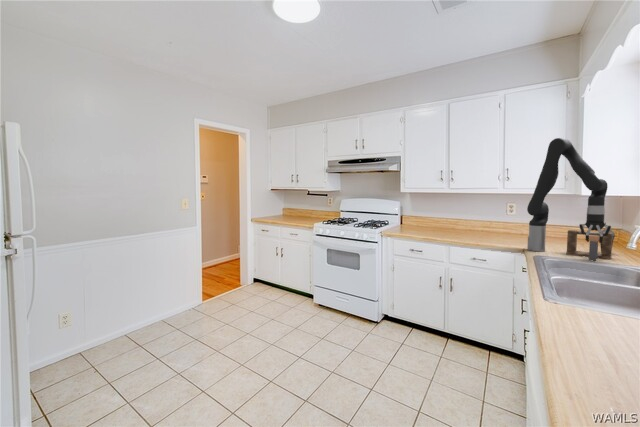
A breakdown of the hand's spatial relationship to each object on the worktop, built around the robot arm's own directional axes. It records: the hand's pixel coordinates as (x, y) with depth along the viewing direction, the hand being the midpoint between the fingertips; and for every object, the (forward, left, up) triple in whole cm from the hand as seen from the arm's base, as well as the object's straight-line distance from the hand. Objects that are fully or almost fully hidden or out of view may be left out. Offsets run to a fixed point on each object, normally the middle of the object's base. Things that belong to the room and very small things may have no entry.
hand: (594, 242), depth 170 cm
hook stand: (-3, +11, -10) cm, 15 cm away
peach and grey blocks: (0, 0, -10) cm, 10 cm away
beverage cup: (+4, +28, -11) cm, 30 cm away
